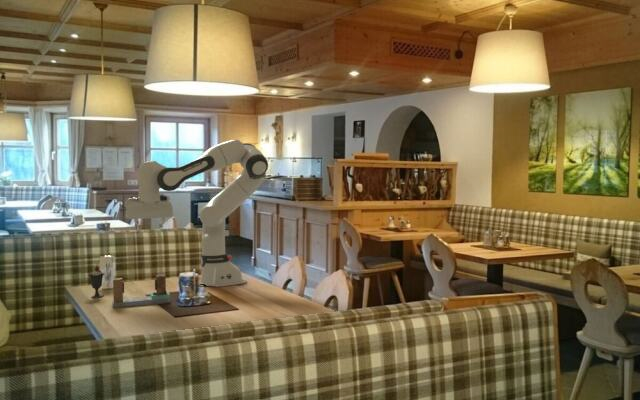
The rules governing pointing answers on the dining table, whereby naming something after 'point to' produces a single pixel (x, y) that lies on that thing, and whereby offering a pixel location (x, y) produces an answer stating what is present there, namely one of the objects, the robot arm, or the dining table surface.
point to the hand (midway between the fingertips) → (150, 228)
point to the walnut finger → (160, 284)
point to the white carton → (107, 270)
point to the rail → (138, 301)
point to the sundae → (96, 281)
